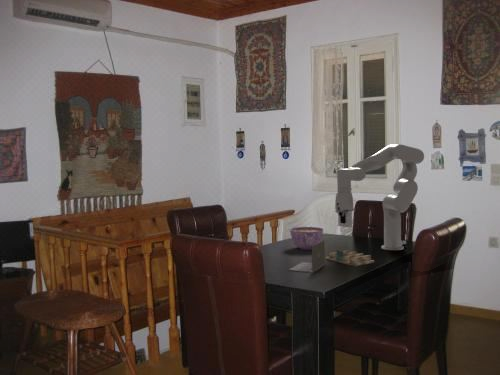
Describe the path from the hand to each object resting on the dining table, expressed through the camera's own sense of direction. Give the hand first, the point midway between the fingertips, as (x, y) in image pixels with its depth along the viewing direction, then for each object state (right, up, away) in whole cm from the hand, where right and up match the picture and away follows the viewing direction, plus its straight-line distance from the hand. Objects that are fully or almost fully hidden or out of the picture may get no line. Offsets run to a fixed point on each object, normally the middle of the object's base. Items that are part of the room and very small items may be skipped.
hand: (345, 222), depth 289 cm
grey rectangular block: (0, -2, 0) cm, 2 cm away
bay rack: (-2, -19, -21) cm, 28 cm away
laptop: (-26, -21, -35) cm, 48 cm away
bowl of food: (-20, -17, +15) cm, 30 cm away
